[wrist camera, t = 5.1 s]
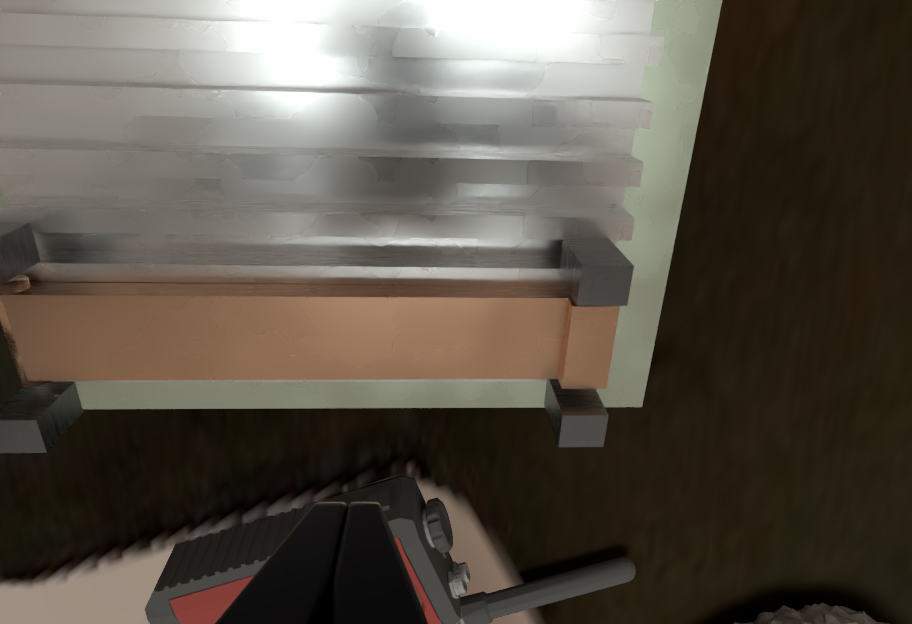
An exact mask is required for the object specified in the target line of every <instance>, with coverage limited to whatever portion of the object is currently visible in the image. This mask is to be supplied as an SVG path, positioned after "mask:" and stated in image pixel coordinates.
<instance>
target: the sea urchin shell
mask: <svg viewBox="0 0 912 624" xmlns="http://www.w3.org/2000/svg"><path fill="white" fill-rule="evenodd" d="M734 624H889V623H882V622H876V621H874V620H873V619H872V618H871V617H869V616H868V615H867V614H866V613H865V612H864V611H860V612H856V611H853V610H851V609H849V608H846V607H843V606H840V607H838V606H837V605H836V606H833V607H831V606H829V605H826V604H824V603H821V604H819V605H817V604H813V605H812V606H809V605H805V606H804V607H803V608H802V609H801V610H798V611H796V610H794V609H793V608H792V609H791V608H789V607H787V606H785V605H783V606H782V607H781V608H780V609H778V610H776V611H775V612H761V613H759V615H758V617H757V618H756V620H755V622H749V623H736V622H735V623H734Z"/></svg>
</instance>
